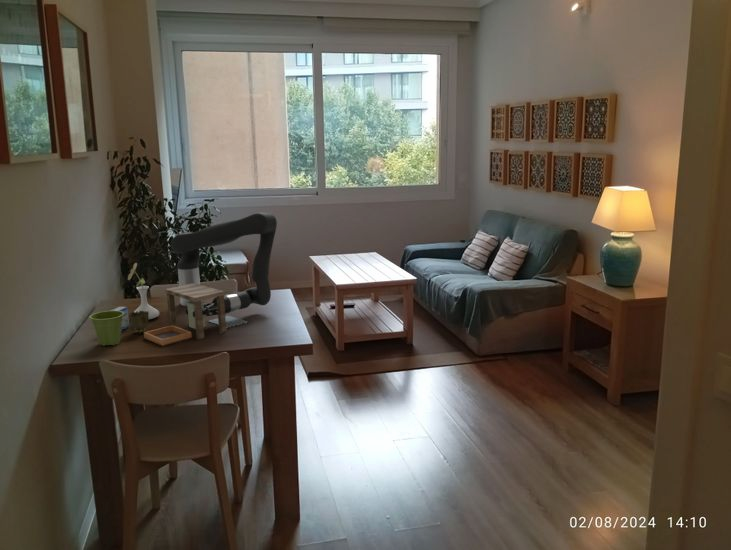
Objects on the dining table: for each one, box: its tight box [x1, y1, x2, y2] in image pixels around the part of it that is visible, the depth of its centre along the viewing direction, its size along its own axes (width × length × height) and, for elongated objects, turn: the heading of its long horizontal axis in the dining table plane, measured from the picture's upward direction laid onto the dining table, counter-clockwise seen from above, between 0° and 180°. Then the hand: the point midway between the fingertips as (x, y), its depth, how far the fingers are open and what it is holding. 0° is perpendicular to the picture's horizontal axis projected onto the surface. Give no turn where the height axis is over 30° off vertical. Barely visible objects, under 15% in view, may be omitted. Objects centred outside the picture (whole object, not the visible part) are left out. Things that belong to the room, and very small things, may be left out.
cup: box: [128, 311, 149, 334], centre depth 237 cm, size 8×7×8 cm
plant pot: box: [89, 310, 124, 346], centre depth 224 cm, size 12×12×11 cm
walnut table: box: [164, 283, 227, 340], centre depth 237 cm, size 22×13×16 cm, turn 47°
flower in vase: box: [126, 262, 160, 321], centre depth 253 cm, size 13×11×25 cm
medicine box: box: [109, 306, 130, 331], centre depth 241 cm, size 8×4×9 cm, turn 168°
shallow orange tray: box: [143, 325, 193, 347], centre depth 229 cm, size 14×12×2 cm
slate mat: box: [207, 315, 248, 329], centre depth 248 cm, size 14×10×1 cm
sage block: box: [186, 300, 206, 330], centre depth 237 cm, size 4×4×10 cm
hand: (190, 313), depth 235 cm, fingers closed on sage block, 4 cm apart
